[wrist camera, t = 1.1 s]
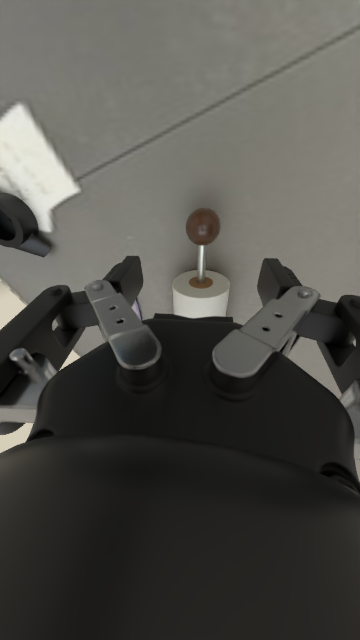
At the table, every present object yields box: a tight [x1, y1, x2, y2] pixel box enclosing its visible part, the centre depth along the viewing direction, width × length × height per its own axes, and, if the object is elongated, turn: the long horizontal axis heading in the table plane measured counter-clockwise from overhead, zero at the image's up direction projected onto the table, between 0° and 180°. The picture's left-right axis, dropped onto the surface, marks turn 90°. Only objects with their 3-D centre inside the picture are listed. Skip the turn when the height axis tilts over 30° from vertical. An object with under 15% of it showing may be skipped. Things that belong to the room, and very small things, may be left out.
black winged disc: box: [0, 193, 51, 257], centre depth 26 cm, size 8×10×3 cm
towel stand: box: [172, 208, 230, 318], centre depth 27 cm, size 23×7×7 cm, turn 2°
